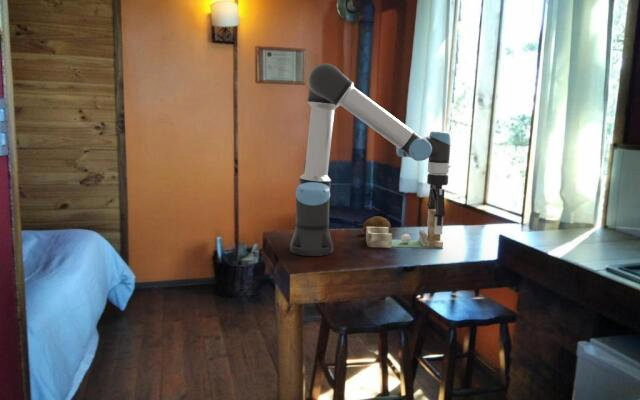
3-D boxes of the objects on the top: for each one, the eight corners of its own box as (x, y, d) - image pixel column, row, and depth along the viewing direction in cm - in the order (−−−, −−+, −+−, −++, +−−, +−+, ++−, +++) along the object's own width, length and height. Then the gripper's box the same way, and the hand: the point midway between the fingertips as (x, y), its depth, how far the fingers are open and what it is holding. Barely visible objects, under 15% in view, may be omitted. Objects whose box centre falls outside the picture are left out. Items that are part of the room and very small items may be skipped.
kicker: (437, 240, 200) (439, 208, 198) (442, 247, 190) (445, 212, 188) (418, 239, 200) (420, 207, 198) (423, 246, 190) (425, 212, 188)
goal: (367, 246, 189) (368, 233, 189) (365, 239, 201) (366, 226, 200) (391, 247, 189) (392, 234, 188) (387, 239, 201) (388, 227, 200)
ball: (401, 244, 193) (401, 235, 193) (400, 242, 197) (400, 232, 196) (410, 244, 193) (411, 235, 193) (409, 242, 197) (410, 233, 196)
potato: (358, 234, 209) (358, 215, 208) (382, 231, 216) (383, 213, 214) (370, 238, 202) (371, 219, 201) (394, 235, 209) (395, 216, 208)
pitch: (372, 246, 190) (372, 245, 190) (369, 239, 201) (369, 238, 201) (442, 248, 190) (442, 247, 190) (437, 241, 200) (437, 240, 200)
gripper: (456, 178, 178) (452, 238, 182) (441, 170, 203) (437, 223, 206) (434, 177, 178) (430, 237, 182) (421, 169, 203) (418, 222, 206)
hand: (434, 230), depth 194 cm, fingers open, 13 cm apart
